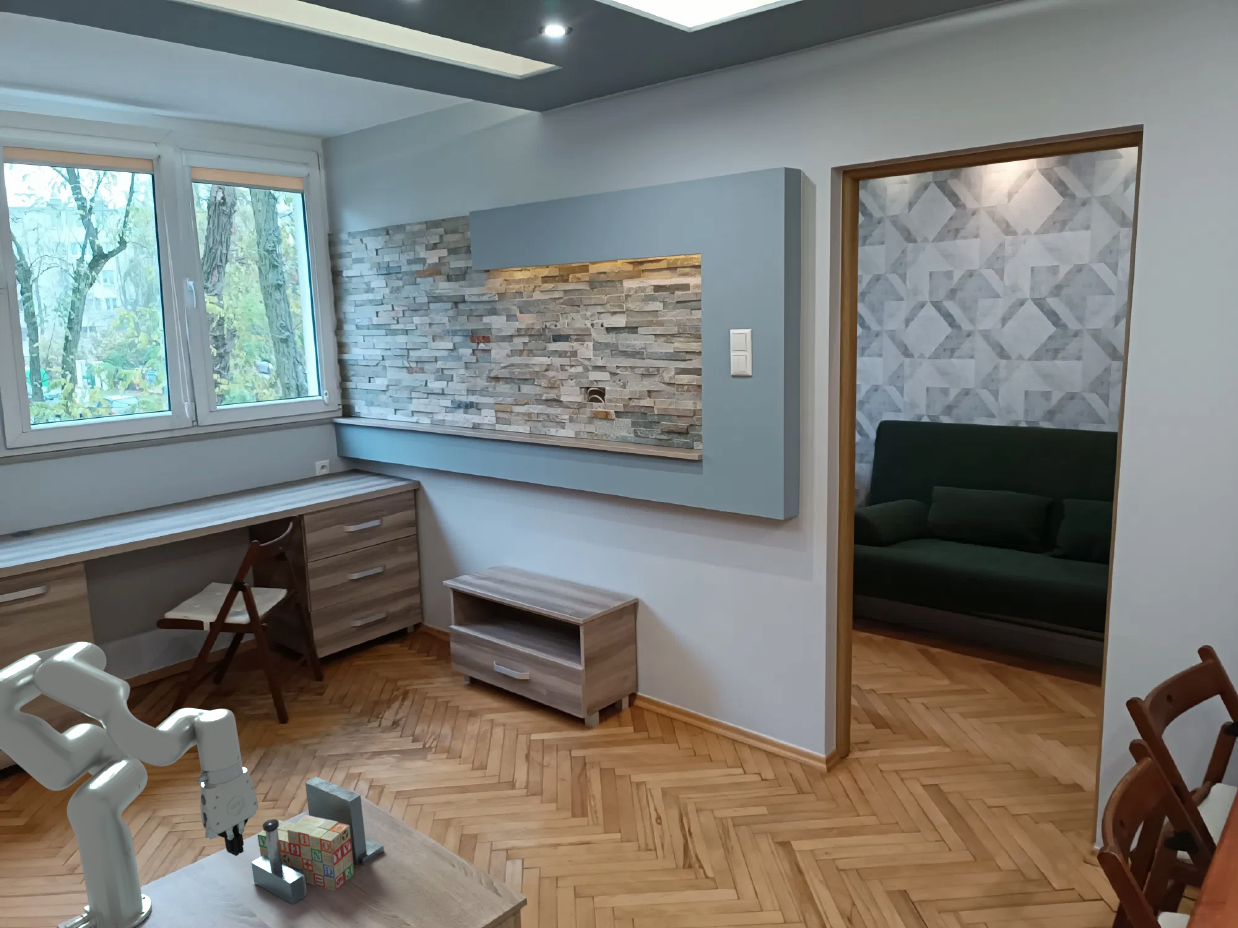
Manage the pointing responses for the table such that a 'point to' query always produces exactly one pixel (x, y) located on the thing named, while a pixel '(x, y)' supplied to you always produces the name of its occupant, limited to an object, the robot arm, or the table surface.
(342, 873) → the stack of blocks
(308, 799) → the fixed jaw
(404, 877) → the table surface
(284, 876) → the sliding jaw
